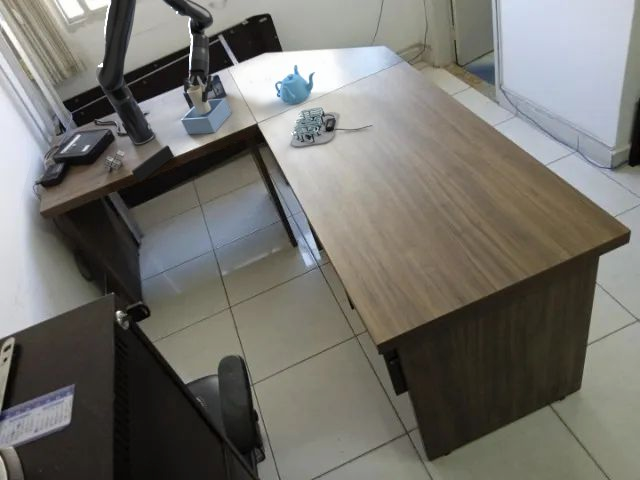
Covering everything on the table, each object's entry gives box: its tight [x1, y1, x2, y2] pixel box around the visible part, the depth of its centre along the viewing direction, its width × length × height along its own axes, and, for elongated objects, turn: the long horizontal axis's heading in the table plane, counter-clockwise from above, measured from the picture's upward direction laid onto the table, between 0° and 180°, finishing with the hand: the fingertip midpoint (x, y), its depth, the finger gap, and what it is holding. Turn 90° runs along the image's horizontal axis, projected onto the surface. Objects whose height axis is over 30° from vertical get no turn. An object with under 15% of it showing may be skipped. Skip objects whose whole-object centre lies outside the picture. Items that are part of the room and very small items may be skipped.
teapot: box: [274, 64, 316, 105], centre depth 194 cm, size 15×15×10 cm
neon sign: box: [291, 106, 373, 148], centre depth 170 cm, size 21×4×29 cm
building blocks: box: [102, 149, 126, 172], centre depth 192 cm, size 5×5×8 cm
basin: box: [180, 97, 232, 135], centre depth 199 cm, size 14×16×7 cm
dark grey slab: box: [131, 144, 175, 183], centre depth 182 cm, size 18×1×5 cm, turn 141°
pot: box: [187, 85, 211, 115], centre depth 194 cm, size 6×6×10 cm
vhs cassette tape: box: [182, 74, 227, 110], centre depth 213 cm, size 18×3×10 cm, turn 129°
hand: (197, 102), depth 193 cm, fingers closed on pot, 6 cm apart
